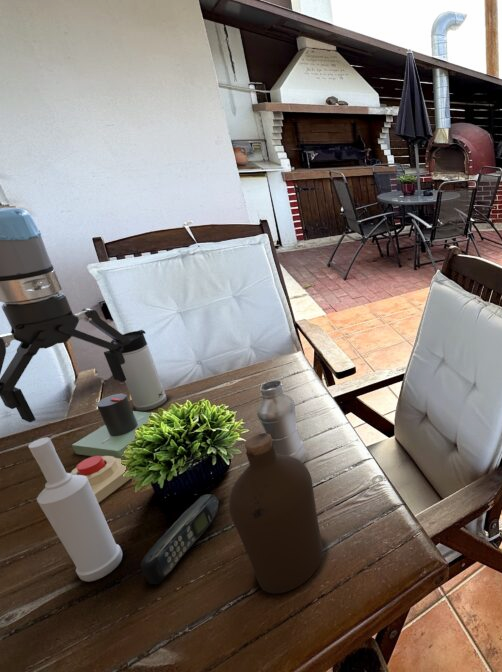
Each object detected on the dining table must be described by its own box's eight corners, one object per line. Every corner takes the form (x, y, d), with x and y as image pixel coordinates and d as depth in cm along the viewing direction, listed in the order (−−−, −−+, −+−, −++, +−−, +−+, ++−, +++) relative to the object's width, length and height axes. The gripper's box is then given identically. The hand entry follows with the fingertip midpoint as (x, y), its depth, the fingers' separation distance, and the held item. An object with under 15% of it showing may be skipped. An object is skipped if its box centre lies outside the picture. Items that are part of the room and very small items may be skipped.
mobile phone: (152, 565, 60) (222, 483, 74) (132, 565, 60) (206, 482, 74) (162, 587, 62) (228, 502, 75) (143, 586, 62) (213, 502, 75)
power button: (74, 475, 77) (70, 468, 77) (95, 461, 81) (92, 454, 80) (90, 477, 77) (86, 470, 76) (110, 463, 80) (107, 456, 79)
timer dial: (103, 435, 89) (89, 404, 86) (126, 421, 94) (113, 391, 91) (121, 437, 89) (108, 406, 86) (143, 423, 93) (131, 393, 90)
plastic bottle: (313, 464, 85) (295, 384, 78) (279, 483, 80) (256, 399, 73) (301, 449, 89) (283, 372, 82) (268, 466, 84) (246, 385, 77)
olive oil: (337, 565, 64) (310, 441, 56) (263, 615, 58) (219, 482, 49) (314, 522, 72) (287, 406, 63) (246, 562, 65) (206, 438, 56)
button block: (51, 499, 76) (42, 483, 75) (102, 463, 85) (96, 448, 83) (95, 505, 75) (87, 489, 74) (143, 469, 83) (137, 454, 82)
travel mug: (172, 400, 105) (148, 333, 98) (140, 414, 100) (113, 343, 93) (163, 393, 108) (139, 327, 101) (131, 406, 103) (104, 337, 96)
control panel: (75, 454, 87) (71, 444, 86) (132, 418, 98) (128, 409, 98) (122, 460, 86) (118, 450, 85) (174, 423, 97) (171, 414, 96)
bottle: (72, 588, 61) (0, 460, 52) (89, 558, 66) (25, 435, 57) (115, 575, 63) (53, 449, 54) (129, 546, 67) (73, 426, 59)
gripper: (-73, 330, 58) (-8, 445, 66) (130, 278, 80) (162, 369, 88) (-96, 322, 61) (-30, 434, 68) (107, 274, 83) (140, 363, 90)
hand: (78, 398), depth 78 cm, fingers open, 13 cm apart
